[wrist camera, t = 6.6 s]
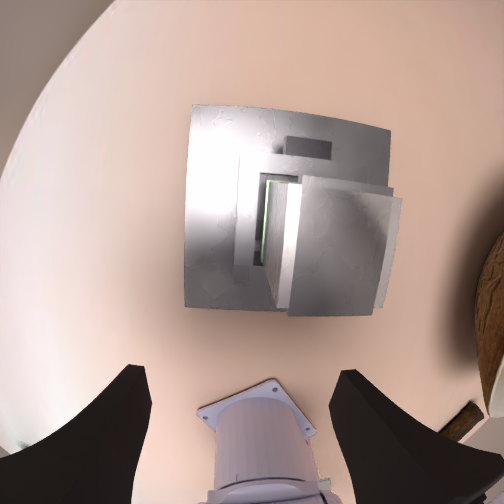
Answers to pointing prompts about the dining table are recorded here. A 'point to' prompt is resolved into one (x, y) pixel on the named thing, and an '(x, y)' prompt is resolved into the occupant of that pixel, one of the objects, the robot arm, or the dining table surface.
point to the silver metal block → (328, 245)
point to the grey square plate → (258, 190)
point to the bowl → (491, 329)
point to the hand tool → (463, 422)
